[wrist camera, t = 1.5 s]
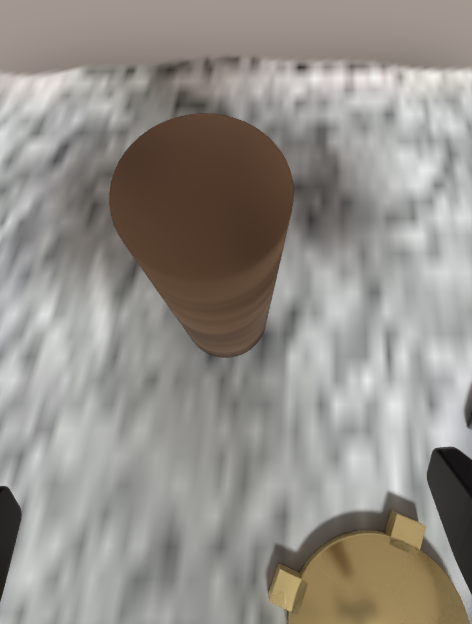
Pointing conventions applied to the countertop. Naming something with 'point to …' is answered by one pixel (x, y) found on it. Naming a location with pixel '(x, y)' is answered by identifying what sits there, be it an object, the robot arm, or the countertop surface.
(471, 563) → the robot arm
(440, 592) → the brass gear disc
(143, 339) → the countertop surface
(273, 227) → the walnut axle
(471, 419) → the steel gear disc
